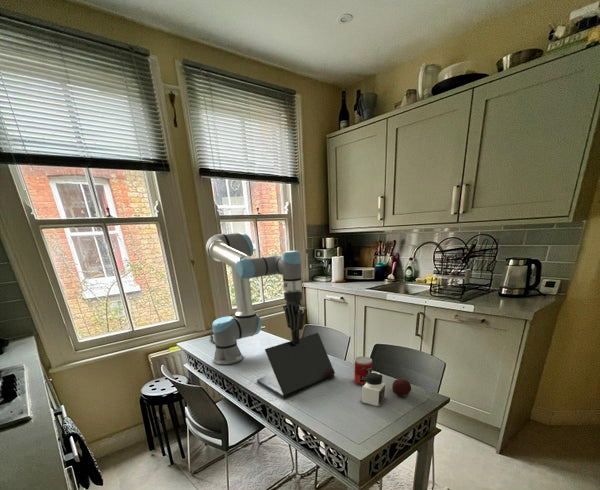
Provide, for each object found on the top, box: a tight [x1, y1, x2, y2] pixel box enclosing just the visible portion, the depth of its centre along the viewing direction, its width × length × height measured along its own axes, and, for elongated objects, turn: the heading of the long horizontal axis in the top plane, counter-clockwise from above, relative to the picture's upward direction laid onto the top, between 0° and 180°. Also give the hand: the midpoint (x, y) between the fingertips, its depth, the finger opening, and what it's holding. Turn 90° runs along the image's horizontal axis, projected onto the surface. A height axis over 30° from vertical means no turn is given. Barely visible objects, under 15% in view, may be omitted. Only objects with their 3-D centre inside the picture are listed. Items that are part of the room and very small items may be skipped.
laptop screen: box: [264, 332, 336, 395], centre depth 141 cm, size 21×30×1 cm
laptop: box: [256, 373, 335, 400], centre depth 149 cm, size 21×30×2 cm
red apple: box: [391, 378, 412, 397], centre depth 131 cm, size 7×8×7 cm
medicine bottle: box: [361, 371, 386, 407], centre depth 126 cm, size 7×7×12 cm
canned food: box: [353, 356, 373, 386], centre depth 142 cm, size 8×8×11 cm
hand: (295, 344), depth 141 cm, fingers closed
